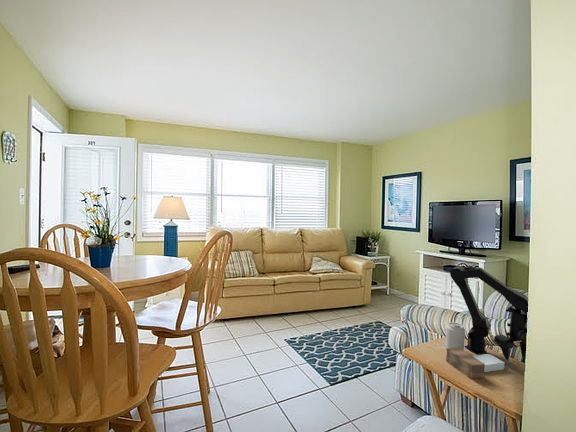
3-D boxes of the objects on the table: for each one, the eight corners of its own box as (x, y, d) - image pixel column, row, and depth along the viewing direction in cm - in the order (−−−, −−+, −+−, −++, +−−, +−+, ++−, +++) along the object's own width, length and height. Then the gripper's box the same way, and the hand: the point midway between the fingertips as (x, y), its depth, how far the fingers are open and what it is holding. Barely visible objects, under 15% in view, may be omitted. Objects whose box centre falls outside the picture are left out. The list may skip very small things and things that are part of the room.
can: (455, 355, 136) (457, 329, 135) (441, 347, 143) (443, 322, 142) (467, 352, 139) (469, 326, 138) (452, 344, 146) (454, 320, 145)
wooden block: (446, 361, 131) (447, 348, 130) (457, 359, 132) (458, 347, 132) (471, 379, 118) (472, 365, 118) (483, 377, 120) (484, 363, 119)
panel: (466, 363, 130) (466, 356, 130) (488, 360, 133) (489, 353, 132) (480, 372, 123) (481, 365, 123) (504, 369, 126) (504, 362, 126)
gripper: (519, 333, 120) (516, 371, 122) (555, 329, 125) (551, 366, 126) (494, 322, 131) (491, 357, 132) (527, 318, 136) (524, 352, 137)
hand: (515, 358), depth 132 cm, fingers open, 9 cm apart
